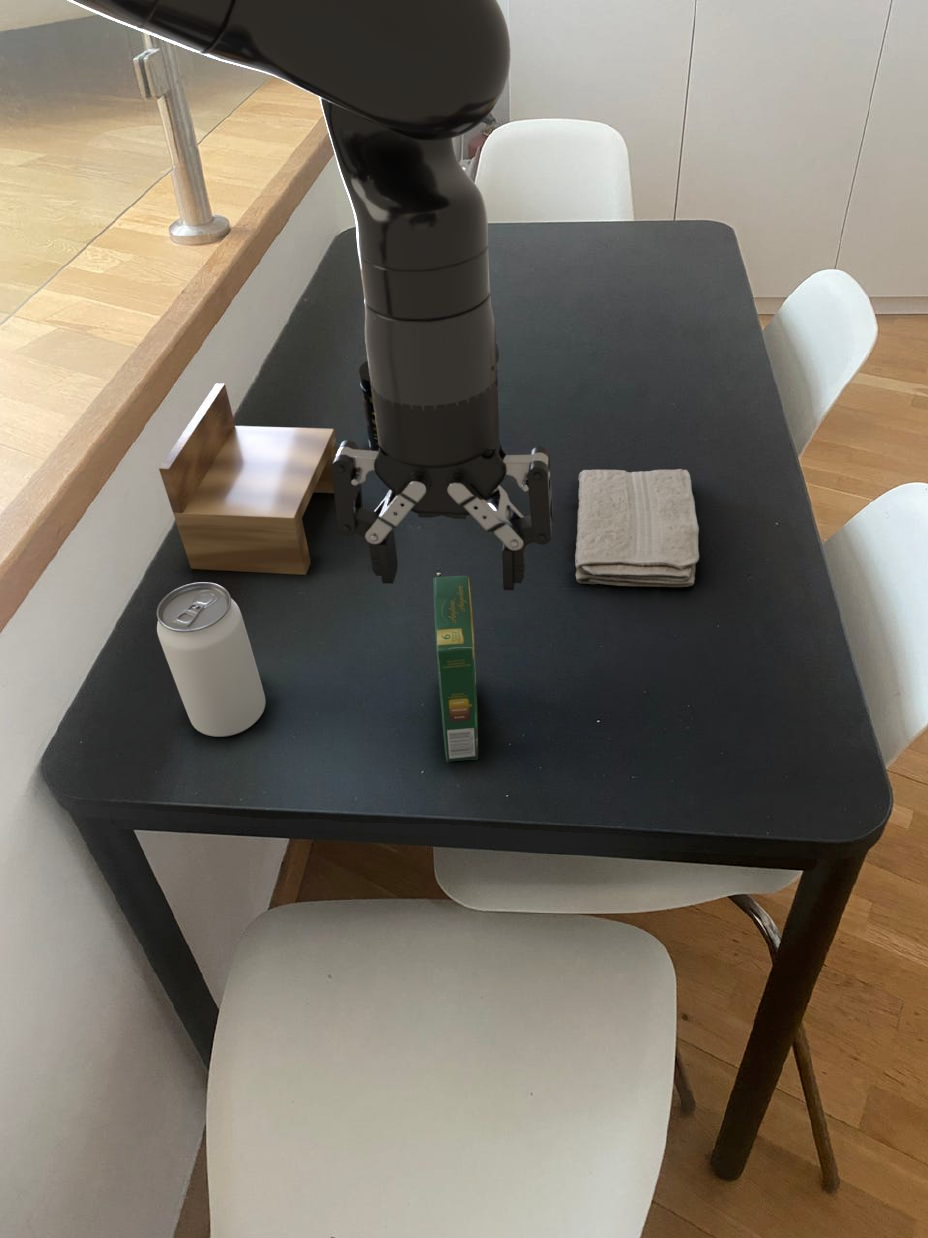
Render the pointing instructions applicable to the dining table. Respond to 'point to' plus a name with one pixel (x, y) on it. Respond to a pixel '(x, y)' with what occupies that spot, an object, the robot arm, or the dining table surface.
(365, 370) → the supplement container
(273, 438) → the shelf
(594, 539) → the washcloth
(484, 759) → the dining table surface
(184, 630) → the can
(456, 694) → the coffee box
